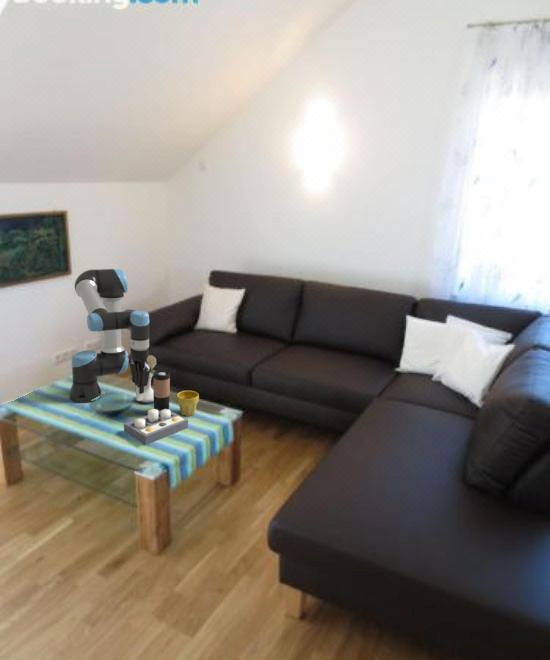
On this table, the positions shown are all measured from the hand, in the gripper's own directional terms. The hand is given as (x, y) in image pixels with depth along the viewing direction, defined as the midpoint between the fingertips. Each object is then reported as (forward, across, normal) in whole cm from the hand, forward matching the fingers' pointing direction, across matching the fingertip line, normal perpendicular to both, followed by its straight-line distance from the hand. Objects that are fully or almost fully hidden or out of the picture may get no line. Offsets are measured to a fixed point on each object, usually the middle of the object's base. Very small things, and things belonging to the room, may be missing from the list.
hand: (139, 399), depth 214 cm
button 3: (+15, 0, +14) cm, 21 cm away
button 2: (+13, 0, +7) cm, 15 cm away
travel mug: (+16, -11, +20) cm, 29 cm away
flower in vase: (+17, -25, +23) cm, 38 cm away
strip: (+12, +7, +7) cm, 16 cm away
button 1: (+15, 0, 0) cm, 15 cm away
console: (+16, +3, +7) cm, 18 cm away
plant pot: (+16, -1, +28) cm, 33 cm away
